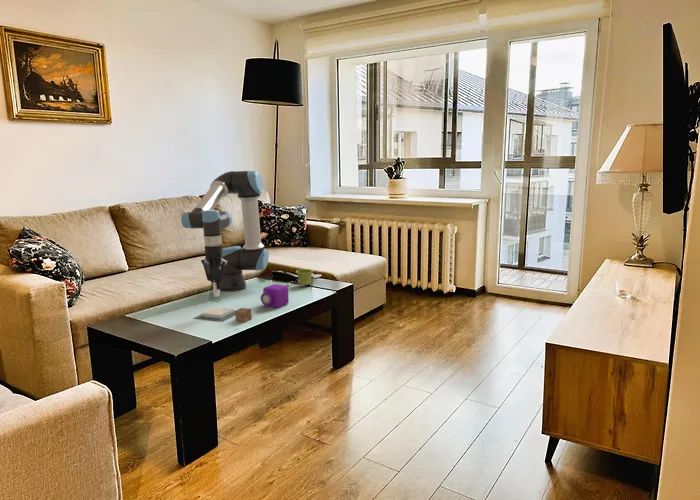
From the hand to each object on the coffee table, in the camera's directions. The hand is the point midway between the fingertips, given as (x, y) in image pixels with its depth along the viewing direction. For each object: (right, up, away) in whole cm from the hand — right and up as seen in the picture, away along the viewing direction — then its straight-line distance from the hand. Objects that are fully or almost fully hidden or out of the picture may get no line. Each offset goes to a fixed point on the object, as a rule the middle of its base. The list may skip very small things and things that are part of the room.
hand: (216, 295), depth 223 cm
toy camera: (+24, -7, +16) cm, 29 cm away
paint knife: (+32, +2, +68) cm, 75 cm away
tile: (-4, -8, +3) cm, 9 cm away
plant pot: (+35, 0, +53) cm, 64 cm away
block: (+13, -10, -6) cm, 18 cm away
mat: (0, -9, +1) cm, 9 cm away
